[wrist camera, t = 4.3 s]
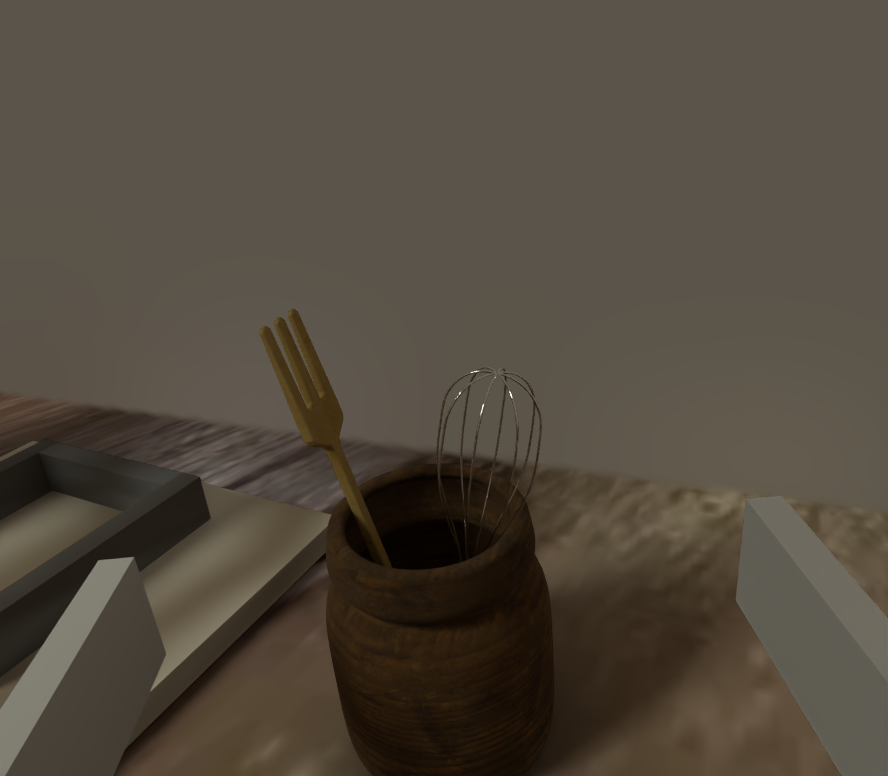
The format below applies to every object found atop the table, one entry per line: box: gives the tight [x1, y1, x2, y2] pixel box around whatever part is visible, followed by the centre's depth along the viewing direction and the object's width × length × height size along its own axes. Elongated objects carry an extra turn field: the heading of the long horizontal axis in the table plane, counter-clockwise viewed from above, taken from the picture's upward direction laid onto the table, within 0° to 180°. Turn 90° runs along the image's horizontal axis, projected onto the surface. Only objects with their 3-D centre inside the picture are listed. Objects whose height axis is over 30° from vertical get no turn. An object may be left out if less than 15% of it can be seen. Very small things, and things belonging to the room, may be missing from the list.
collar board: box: [0, 439, 331, 749], centre depth 27 cm, size 20×14×3 cm
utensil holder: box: [260, 309, 554, 776], centre depth 18 cm, size 6×6×12 cm
